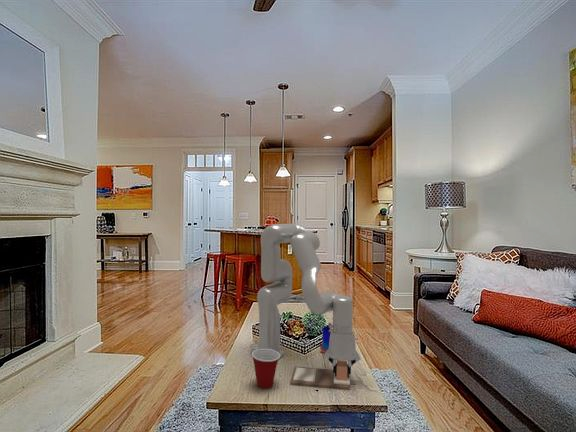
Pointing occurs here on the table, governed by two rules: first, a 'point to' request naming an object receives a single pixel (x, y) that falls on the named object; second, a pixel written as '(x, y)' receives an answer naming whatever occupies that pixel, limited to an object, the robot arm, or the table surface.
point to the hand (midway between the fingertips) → (341, 374)
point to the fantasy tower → (325, 339)
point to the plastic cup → (265, 366)
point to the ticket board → (315, 378)
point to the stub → (342, 373)
